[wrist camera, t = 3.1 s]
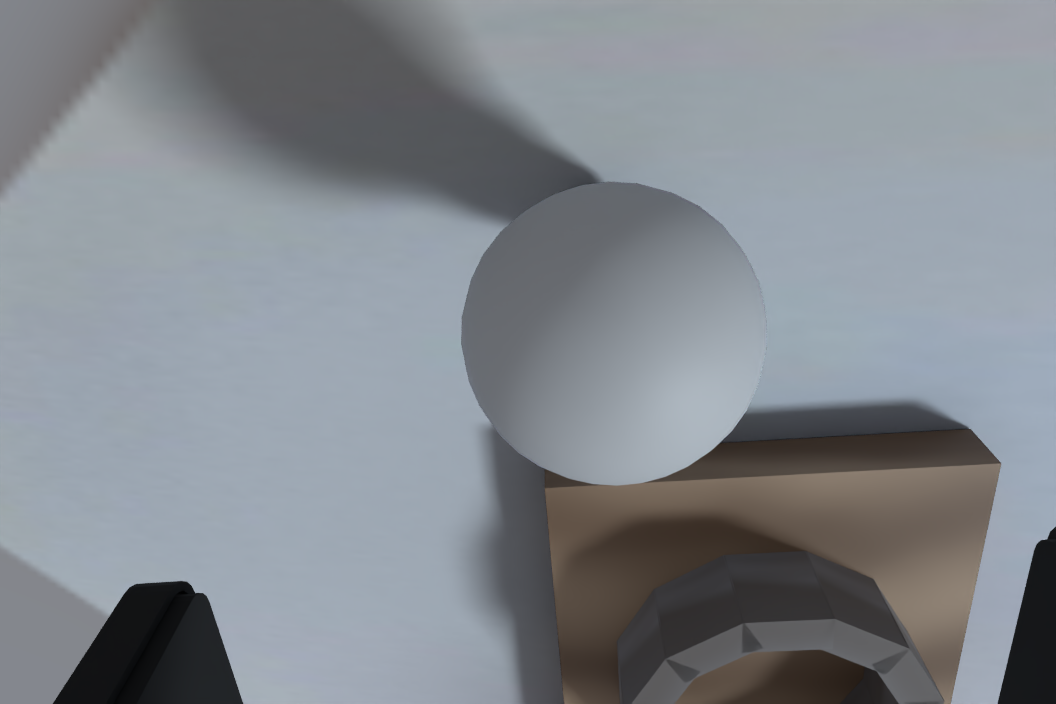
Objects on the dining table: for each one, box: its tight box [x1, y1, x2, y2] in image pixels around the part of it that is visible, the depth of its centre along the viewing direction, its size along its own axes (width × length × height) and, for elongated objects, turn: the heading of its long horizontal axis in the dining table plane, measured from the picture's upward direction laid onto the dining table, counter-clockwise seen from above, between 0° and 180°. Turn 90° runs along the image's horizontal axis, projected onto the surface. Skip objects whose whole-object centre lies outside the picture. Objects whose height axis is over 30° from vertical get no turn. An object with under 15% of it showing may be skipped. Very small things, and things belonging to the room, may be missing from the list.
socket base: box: [545, 429, 1001, 704], centre depth 28 cm, size 16×14×5 cm
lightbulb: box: [461, 182, 767, 486], centre depth 19 cm, size 6×6×11 cm
